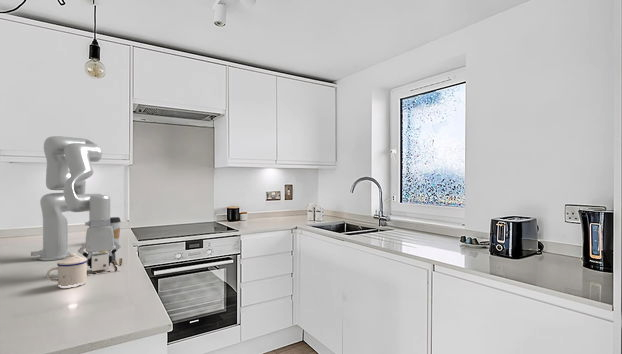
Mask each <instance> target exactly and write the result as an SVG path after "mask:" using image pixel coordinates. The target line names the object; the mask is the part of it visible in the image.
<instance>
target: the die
mask: <svg viewBox="0 0 622 354" xmlns="http://www.w3.org/2000/svg"><path fill="white" fill-rule="evenodd" d="M91 259H92V268H90V269H91V272H96V271H103V270H109V268H110V266H109V254H108V252H102V253H98V252H93V253H92V256H91Z"/></svg>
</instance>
